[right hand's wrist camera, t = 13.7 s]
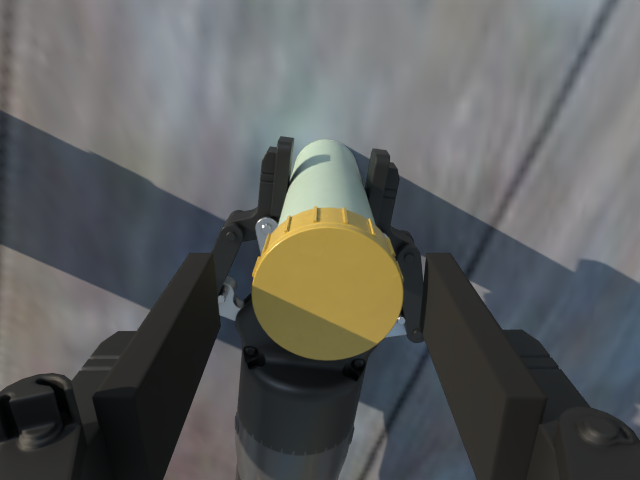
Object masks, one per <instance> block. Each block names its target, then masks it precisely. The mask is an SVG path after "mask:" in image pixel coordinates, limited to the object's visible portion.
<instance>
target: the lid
mask: <svg viewBox="0 0 640 480" xmlns="http://www.w3.org/2000/svg"><path fill="white" fill-rule="evenodd" d="M395 256H396V255H395V252H394V249H393V246H392V244H391V241H390V239H389V237H388V238H386V237H385V235H384V234H383V233H382V232H381V230H380V229H379V228H378V227H377V226H376V225H374V224H373V221H372V219H370V218H369V219H366V218H365V217H363V216H361V215H359V214H357V213H354V212H352V211H349V210H346V207H343V209H340V208H331V207H328V208H317V206H314V209H310V210H307V211H303V212H301V213H298V214H296V215H294V216H292V217H291V216H290V215H289V216H288V217H287V220H285V221H284V222H283V223H282V224H280V225H279V226H278V227H277V228H276V229H275V230H274V231H273V232H272V234H270V233H269V234H268V235H267V238H266V242H265V245H264V248H263V250H262V253H261V256H260V257H259V256H258V258H257V261H256V264H255V267H254V270H253V273H252V277H254V278H253V283H252V304H253V308H254V312H255V314H256V317H257V319H258V321H259V323H260V325H261V326H262V328H263V329H264V331H265V332H266V333H267V334H268V336H269V337H270V338H271V339H273V340H274V341H275V342H276V343H277V344H279V345H280V346H281V347H283V348H284V349H286V350H288V351H290V352H292V353H294V354H296V355H299V356H302V357H305V358H310V359H315V360H339V359H345V358H350V357H353V356H356V355H359V354H361V353H363V352H365V351H367V350H369V349H371V348H372V347H374V346H375V345H377V344H378V343H379V342H381V341H382V340H383V339H384V338H385V337H386V336H387V335H388V334H389V333H390V331H391V330H392V328H393V327H394V325H395V324H396V322H397V320H398V318H399V315H400V313H401V310H402V305H403V300H404V288H403V282H404V278H403V275H402V273H401V270H400V267H399V264H398V261H396V259H395Z"/></svg>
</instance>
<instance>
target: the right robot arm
mask: <svg viewBox="0 0 640 480" xmlns="http://www.w3.org/2000/svg"><path fill="white" fill-rule="evenodd" d="M220 326H221V324H220V314H219V304H218V294H217V283H216V273H215V263H214V253H190V254H189V255H188V256H187V258H186V259H185V261H184V262H183V264H182V265H181V267H180V268H179V270H178V271H177V273H176V274H175V276H174V277H173V279H172V280H171V282H170V283H169V284H168V286H167V287H166V289H165V290H164V292H163V293H162V295H161V296H160V298H159V299H158V301H157V302H156V304H155V305H154V307H153V308H152V309H151V311H150V312H149V314H148V315H147V317H146V318H145V320H144V321H143V323H142V324H141V326H140V327H139V329H138V330H137V331H118V332H116V333H115V334H113V335H112V336H110V337H109V338H108V339H106V340H105V341H103V342H102V343H101V344H100V345H99V346H98V348H97V349H96V350H95V352H94V353H93V354H92V355H91V359H88V361H87V362H86V363H85V364H84V366H83V367H82V370H81V371H79V372H78V373H77V375H76V376H75V377H74V379H73V380H72V381H71V380H69V379H68V378H67V377H66V376H64V375H60V374H55V373H49V374H38V375H35V376H31V377H28V378H25V379H22V380H20V381H18V382H16V383H13V384H11V385H9V386H7V387H6V388H5V389H3V390H2V391H1V392H0V480H163V478H164V476H165V473H166V470H167V468H168V465H169V462H170V460H171V457H172V454H173V452H174V449H175V446H176V444H177V441H178V438H179V436H180V433H181V430H182V428H183V425H184V422H185V420H186V417H187V414H188V412H189V409H190V406H191V404H192V401H193V398H194V396H195V393H196V390H197V388H198V385H199V382H200V380H201V377H202V374H203V372H204V369H205V366H206V364H207V361H208V358H209V356H210V353H211V350H212V348H213V345H214V342H215V340H216V337H217V334H218V332H219V329H220ZM419 326H420V329H421V332H422V334H423V337H424V340H425V342H426V345H427V348H428V350H429V353H430V356H431V358H432V361H433V364H434V366H435V369H436V372H437V374H438V377H439V380H440V382H441V385H442V388H443V390H444V393H445V396H446V398H447V401H448V404H449V406H450V409H451V412H452V414H453V417H454V420H455V422H456V425H457V428H458V430H459V433H460V436H461V438H462V441H463V444H464V446H465V449H466V452H467V454H468V457H469V460H470V462H471V465H472V468H473V470H474V473H475V476H476V478H477V480H640V440H639V439H638V437H637V436H636V434H635V433H634V431H633V430H632V429H630V428H629V427H628V426H627V425H626V424H625V423H623V422H622V421H621V420H619V419H617V418H615V417H613V416H612V415H610V414H608V413H606V412H603V411H599V410H596V409H593V408H591V407H590V406H589V405H588V403H587V402H586V401H585V400H584V398H583V397H582V396H581V394H580V393H579V392H578V391H577V389H576V388H575V387H574V385H573V384H572V383H571V382H570V380H569V379H568V378H567V377H566V375H565V374H564V373H563V371H562V370H561V369H559V368H558V367H559V366H558V365H557V364H556V362H555V361H554V360H553V359H552V358H550V355H549V353H548V352H547V351H546V350H545V348H544V347H543V346H542V345H541V343H540V342H539V341H538V340H536V339H535V338H533V337H532V336H530V335H529V334H527V333H526V332H524V331H523V330H502V329H501V327H500V326H499V324H498V323H497V321H496V320H495V318H494V317H493V315H492V314H491V312H490V311H489V309H488V308H487V307H486V305H485V304H484V302H483V301H482V299H481V298H480V296H479V295H478V293H477V292H476V290H475V289H474V287H473V286H472V284H471V283H470V282H469V280H468V279H467V277H466V276H465V274H464V273H463V271H462V270H461V268H460V267H459V265H458V264H457V262H456V261H455V259H454V258H453V256H452V255H451V254H450V253H426V263H425V273H424V283H423V294H422V304H421V314H420V324H419Z"/></svg>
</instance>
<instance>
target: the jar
mask: <svg viewBox="0 0 640 480" xmlns="http://www.w3.org/2000/svg"><path fill="white" fill-rule="evenodd" d="M314 206H317V208H328V207H331V208H340V209H343V207H346V210H349V211H352V212H354V213H357V214H359V215H361V216H363V217H365V218H366V219H369V218H370V219H372V221H373V224H374V225H375V221H374V218H373V215H372V212H371V208H370V205H369V202H368V199H367V195H366V192H365V189H364V185H363V182H362V179H361V176H360V172H359V169H358V166H357V163H356V160H355V157H354V155H353V154H352V152H351V151H350V150H349V149H348V148H347V147H346V146H345V145H343V144H341V143H340V142H337V141H334V140H318V141H315V142H313V143H310V144H309V145H307V146H306V147H305V148H304V149H303V150H302V151H301V152H300V154H299V155H298V157H297V159H296V162H295V166H294V169H293V173H292V176H291V180H290V184H289V187H288V191H287V195H286V198H285V202H284V206H283V209H282V213H281V216H280V220H279V224H278V226H279V225H280V224H282V223H283V222H284V221H285V220H287V217H288V216H289V215H290V216H291V217H292V216H294V215H296V214H298V213H301V212H303V211H307V210H310V209H314Z"/></svg>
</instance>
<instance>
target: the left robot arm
mask: <svg viewBox="0 0 640 480" xmlns="http://www.w3.org/2000/svg"><path fill="white" fill-rule="evenodd" d="M293 146H294V138H290V137H282V136H281V137H280V138H279V140H278V144H277V147H269V149H268V151H267V152H266V154H265V156H264V158H263V160H262V166H261V178H260V190H259V202H258V207H257V208H255V209H253V210H249V211H241V210H236V211H234V212H232V213H231V214H230V216H229V218H228V219H227V221H226V223H225V224H224V226H223V228H222V229H221V231H220V233H219V236H218V238H217V241H216V243H215V246H214V248H213V250H212V253H214V263H215V273H216V283H217V294H218V304H219V314H220V316H223V317H225V318H228V319H231V320H233V321H235V326H236V329H237V331H238V333H239V334H240V337H241V339H242V358H241V371H240V384H239V396H238V410H237V412H236V416H235V430H236V453H237V470H236V480H338V477H339V474H340V471H341V469H342V467H343V464H344V461H345V459H346V456H347V452H348V448H349V445H350V444H351V441H352V437H353V432H354V420H355V415H356V411H357V406H358V401H359V396H360V392H361V387H362V382H363V377H364V373H365V368H366V363H367V359H368V357H369V355H370V353H371V352H372V351H373V350H374V349H375V348H376V347H377V346H378V344H379V343H378V344H377V345H375V346H374V347H372V348H371V349H369V350H367V351H365V352H363V353H361V354H359V355H356V356H353V357H350V358H345V359H339V360H315V359H310V358H305V357H302V356H299V355H296V354H294V353H292V352H290V351H288V350H286V349H284V348H283V347H281V346H280V345H279V344H277V343H276V342H275V341H274V340H273V339H271V338H270V337H269V336H268V334H267V333H266V332H265V331H264V329H263V328H262V326H261V325H260V323H259V321H258V319H257V317H256V314H255V312H254V308H253V304H252V293H251V294H250V295H249V296H247V297H246V298H245V299H244V300H243V301H242V300H240V299H239V298H238V296H237V294H236V289H237V283H236V281H235V280H234V279H233V278H232V277H231V276H227V275H228V272H229V270H230V268H231V266H232V263H233V261H234V259H235V257H236V254H237V252H238V250H239V247H240V245H241V243H242V242H244V241H249V240H254V239H258V244H259V249H260V253H262V250H263V248H264V245H265V242H266V238H267V235H268V234H269V233H270V234H272V232H273V231H274V230H275V229H276V228H277V227H278V224H279V220H280V216H281V213H282V209H283V206H284V202H285V198H286V195H287V191H288V187H289V183H290V174H291V165H292V155H293ZM398 184H399V174H398V169H397V168H396V166H395V164H394V163H392V162H390V155H389V154H388V152H387V151H386V150H381V149H374V148H373V149H372V152H371V157H370V163H369V168H368V174H367V180H366V185H365V192H366V195H367V199H368V202H369V205H370V208H371V212H372V215H373V218H374V221H375V225H376V226H377V227H378V228H379V229H380V230H381V232H382V233H383V234H384V235H385V237H386V238H388V237H389V239H390V241H391V244H392V246H393V249H394V252H395V255H396V256H395V259H396V261H398V264H399V267H400V270H401V273H402V275H403V278H404V282H403V288H404V300H403V305H402V310H401V313H400V315H399V318H398V320H397V322H396V324H395V325H394V327H393V328H392V330H391V331H390V333H389V334H388V335H387V336H386V337H385V338H387V337H394V336H401V335H407V337H408V339H409V340H410V341H412V342H414V343H419V342H422V341H424V337H423V334H422V332H421V329H420V326H419V324H420V314H421V304H422V294H423V274H422V264H421V255H420V253H419V250H418V249H417V247H416V246H415V244H414V241H413V238H412V236H411V234H410V233H408V232H407V231H399V230H397V229H395V228H393V227H391V226H390V223H391V218H392V213H393V208H394V203H395V198H396V194H397V189H398Z"/></svg>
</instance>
